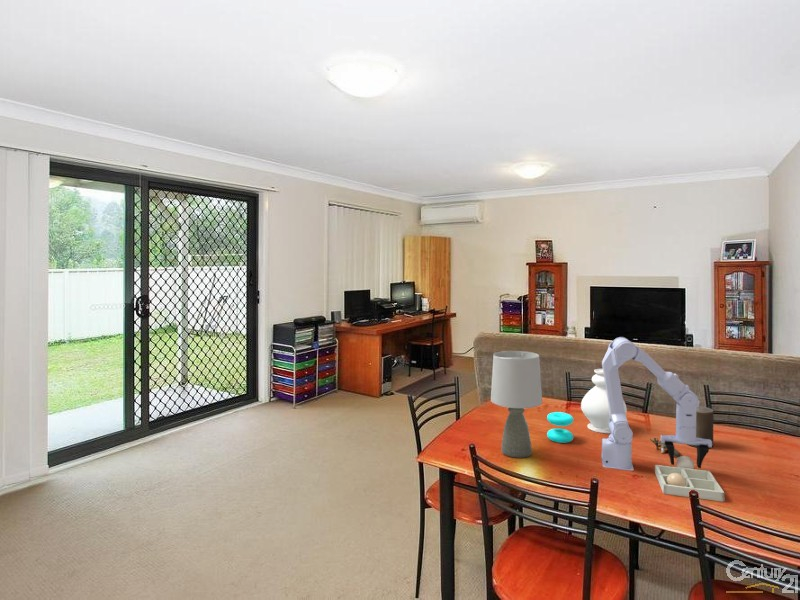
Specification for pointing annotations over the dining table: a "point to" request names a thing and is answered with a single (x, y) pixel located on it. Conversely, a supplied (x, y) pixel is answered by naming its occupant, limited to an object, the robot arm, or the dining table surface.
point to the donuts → (558, 433)
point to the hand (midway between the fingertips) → (685, 465)
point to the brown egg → (676, 480)
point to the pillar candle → (704, 423)
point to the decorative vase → (597, 404)
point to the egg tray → (690, 483)
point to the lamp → (516, 396)
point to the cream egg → (685, 462)
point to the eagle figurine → (664, 447)
